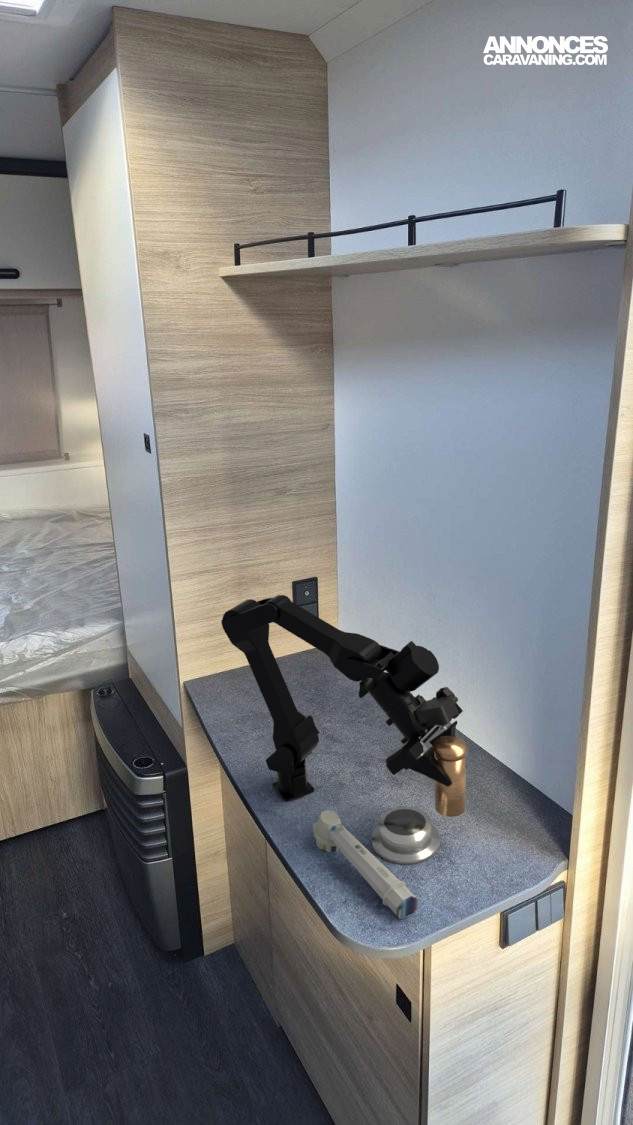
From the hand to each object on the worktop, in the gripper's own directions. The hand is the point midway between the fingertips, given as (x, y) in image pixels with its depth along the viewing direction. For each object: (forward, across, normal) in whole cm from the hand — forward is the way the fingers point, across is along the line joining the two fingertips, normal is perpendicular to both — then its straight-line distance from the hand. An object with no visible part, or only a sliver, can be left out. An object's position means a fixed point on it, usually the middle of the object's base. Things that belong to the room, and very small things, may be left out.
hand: (457, 776), depth 133 cm
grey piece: (+2, -15, +17) cm, 23 cm away
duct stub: (+4, -4, +15) cm, 16 cm away
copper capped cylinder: (+4, 0, +6) cm, 7 cm away
